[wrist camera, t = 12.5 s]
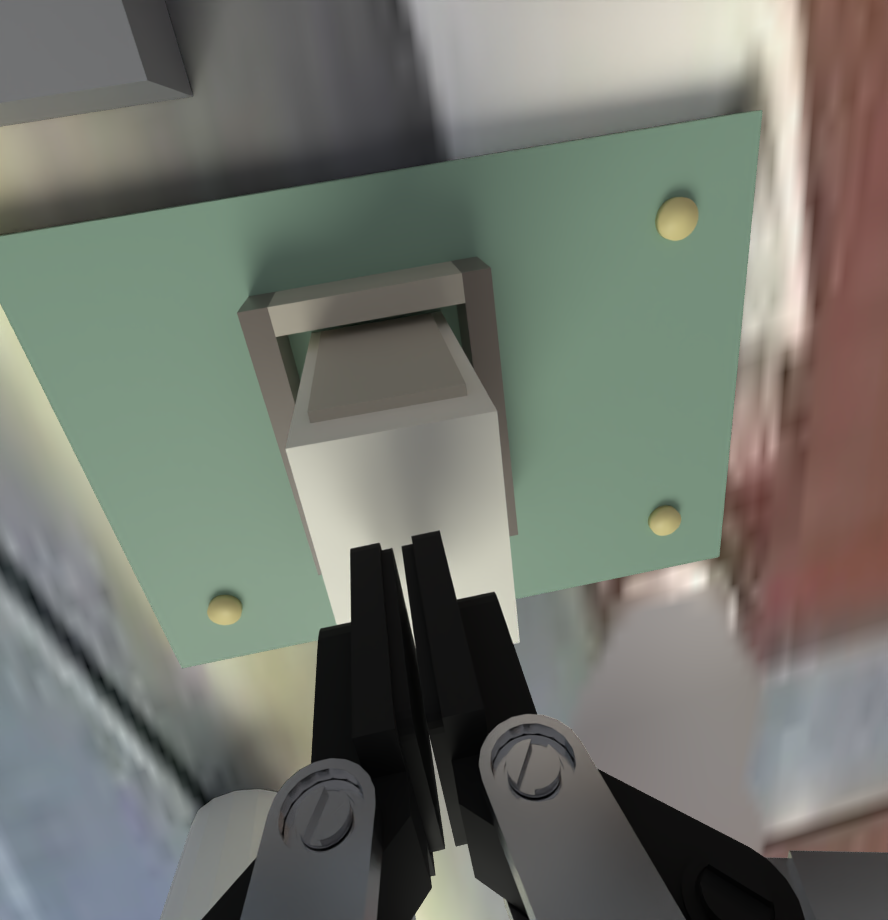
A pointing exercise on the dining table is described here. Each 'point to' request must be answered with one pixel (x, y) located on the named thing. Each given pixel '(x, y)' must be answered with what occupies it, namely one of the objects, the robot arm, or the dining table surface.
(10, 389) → the dining table surface
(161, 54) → the grey push button box
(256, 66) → the dining table surface
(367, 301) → the socket
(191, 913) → the gray cup
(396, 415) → the plug
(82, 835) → the dining table surface
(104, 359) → the board
